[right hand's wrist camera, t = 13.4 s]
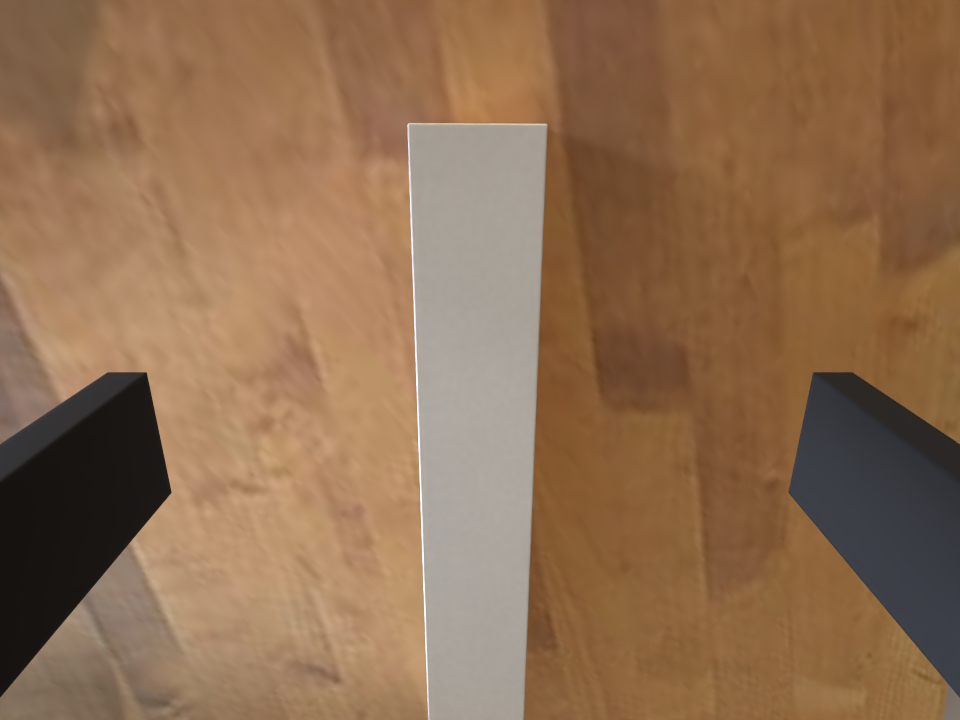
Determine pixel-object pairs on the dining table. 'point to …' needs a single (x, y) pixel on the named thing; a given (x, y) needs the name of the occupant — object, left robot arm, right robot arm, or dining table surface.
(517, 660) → the post
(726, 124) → the dining table surface
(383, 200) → the dining table surface
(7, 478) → the right robot arm
